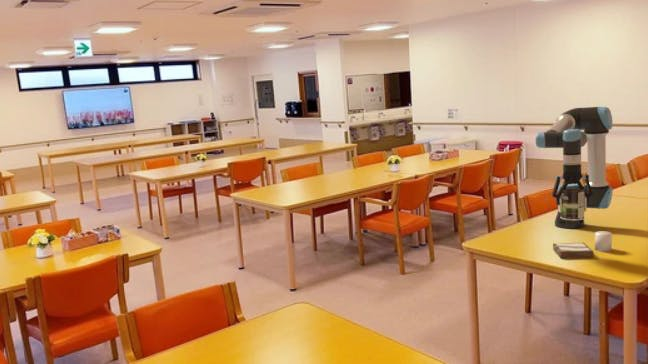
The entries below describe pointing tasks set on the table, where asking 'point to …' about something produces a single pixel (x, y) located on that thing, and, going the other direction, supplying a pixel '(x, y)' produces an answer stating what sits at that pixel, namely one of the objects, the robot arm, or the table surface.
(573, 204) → the coffee can
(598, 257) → the table surface
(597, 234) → the cream egg shape
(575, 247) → the picture frame
